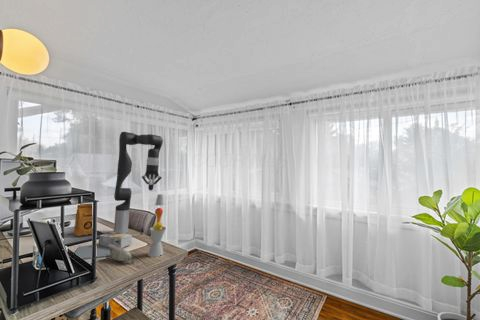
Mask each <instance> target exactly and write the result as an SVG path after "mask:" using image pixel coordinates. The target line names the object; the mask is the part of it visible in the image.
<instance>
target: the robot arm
mask: <svg viewBox="0 0 480 320" xmlns="http://www.w3.org/2000/svg"><path fill="white" fill-rule="evenodd" d="M118 138H119V142H118V146H119V147H118V149H119V150H118V160H117V161H118V162H117V173H116V182H115V190H114V200H115V201H118V202H120V201H123V202H122V203H120V204H118V205H116V206H115V212H114V214H115V215H114V220H113V232H118V233H125V234H128V231H129V219H130V209H131V207H130V206H131V201H132V200H131V199H132V189H131V188H129V187H122V184H123V183H124V181H125V180H126V179H127V177H128V176H129V175H130V173H131V172H132V169H133V168H132V165H133V161H132V159H131V156H130V155H129V153H128V151H127V145H128V146H134V145H144V146H154V147H153V148H149V149H148V151H147V159H146V167H145V168H146V169H145V173H144V175H142V176H141V178H142V179H143V181H144V182H145V184H146V185H148V190H149V191H153V190H154V186H155V185H156V184H158V183H159V182H160V181H161V179H162V178H163V177H162V176H160V174H159V166H160V165H159V164H160V151H161V149H162V146H163V142H164V139H163V137H162V136H161V135H156V134H140V135H139V134H136V133H134V132H128V131H122V132H121V133H120V134H119V137H118ZM147 180H148V181H147Z"/></svg>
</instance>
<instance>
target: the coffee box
mask: <svg viewBox="0 0 480 320" xmlns="http://www.w3.org/2000/svg"><path fill="white" fill-rule="evenodd" d="M132 237H133V234H131V233H130V234H129V233H126V234H125V233H118V232H114V231H109V232H105V233H103V234H100V235H99V238H98V245H99V246H105V247H109V246H108V245H109V244H112V245H115V246H116V247H120V248H122V249H124V248H126V247H127V246H130V245H132V239H133V238H132Z"/></svg>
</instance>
